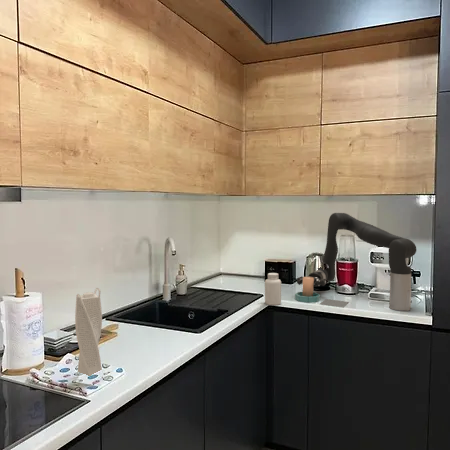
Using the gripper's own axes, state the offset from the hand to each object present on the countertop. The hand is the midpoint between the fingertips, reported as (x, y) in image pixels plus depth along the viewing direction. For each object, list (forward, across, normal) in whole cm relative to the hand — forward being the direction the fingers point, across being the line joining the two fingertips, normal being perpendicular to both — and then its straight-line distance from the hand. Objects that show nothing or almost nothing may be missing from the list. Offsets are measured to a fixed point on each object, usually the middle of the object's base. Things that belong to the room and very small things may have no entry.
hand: (306, 283), depth 220 cm
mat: (-1, +14, +9) cm, 17 cm away
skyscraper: (+121, -25, +10) cm, 124 cm away
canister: (-1, 0, +8) cm, 8 cm away
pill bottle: (+13, -13, +9) cm, 20 cm away
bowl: (-1, 0, +9) cm, 9 cm away
